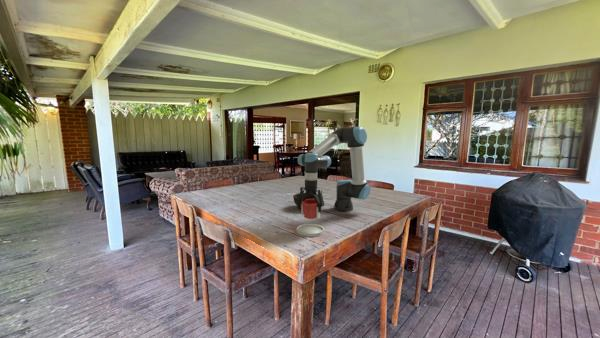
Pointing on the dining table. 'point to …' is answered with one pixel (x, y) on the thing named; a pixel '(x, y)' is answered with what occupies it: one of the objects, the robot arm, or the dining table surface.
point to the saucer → (310, 230)
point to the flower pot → (310, 208)
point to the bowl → (302, 197)
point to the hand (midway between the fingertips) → (310, 215)
